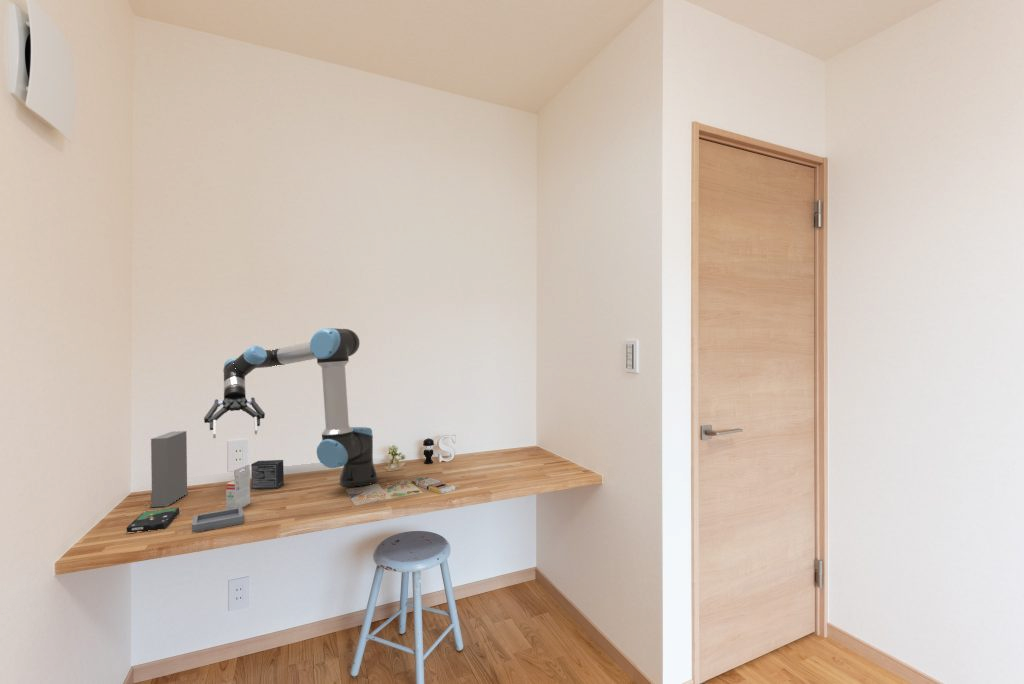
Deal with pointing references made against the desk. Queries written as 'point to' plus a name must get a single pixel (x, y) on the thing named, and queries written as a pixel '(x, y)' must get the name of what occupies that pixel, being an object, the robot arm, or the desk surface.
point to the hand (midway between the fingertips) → (235, 434)
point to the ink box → (238, 489)
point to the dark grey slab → (168, 468)
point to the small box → (267, 474)
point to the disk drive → (153, 520)
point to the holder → (217, 519)
